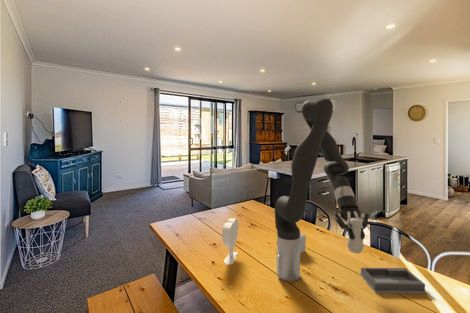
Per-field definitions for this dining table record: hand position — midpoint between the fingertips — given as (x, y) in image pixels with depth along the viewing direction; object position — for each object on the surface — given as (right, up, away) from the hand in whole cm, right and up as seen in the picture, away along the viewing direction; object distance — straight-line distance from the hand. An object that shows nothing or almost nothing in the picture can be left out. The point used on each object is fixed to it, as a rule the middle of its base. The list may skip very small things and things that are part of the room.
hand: (357, 238), depth 93 cm
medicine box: (-16, -17, +29) cm, 37 cm away
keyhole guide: (+14, -18, +3) cm, 24 cm away
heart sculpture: (-49, -18, +26) cm, 58 cm away
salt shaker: (0, -6, +3) cm, 6 cm away
